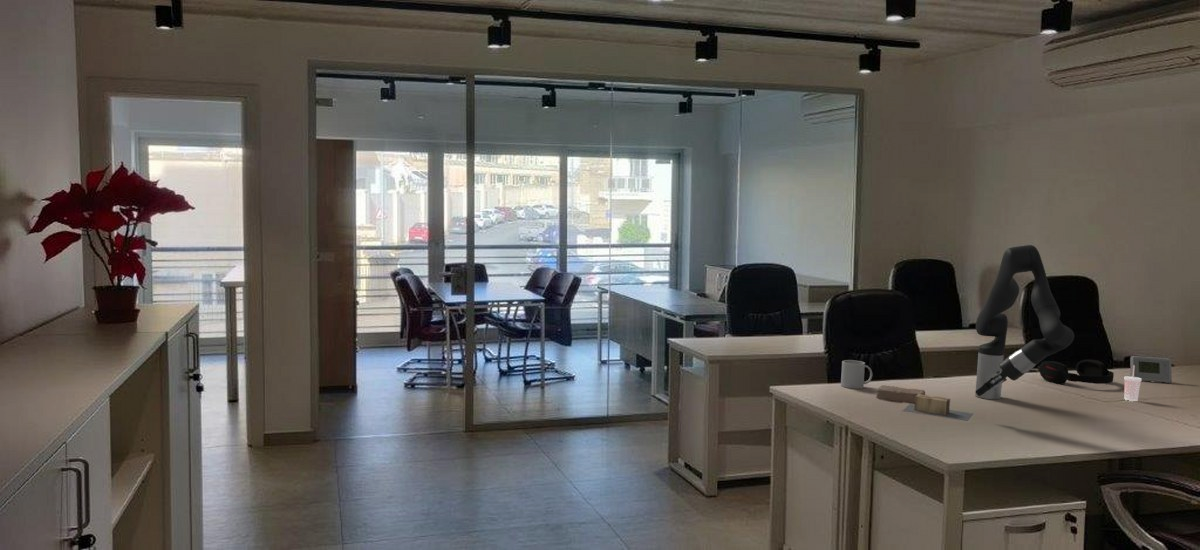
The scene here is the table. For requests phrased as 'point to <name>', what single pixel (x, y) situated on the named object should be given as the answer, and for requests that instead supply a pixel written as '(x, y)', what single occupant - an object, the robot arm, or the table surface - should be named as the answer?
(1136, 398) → the beverage cup
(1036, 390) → the table surface
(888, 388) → the brick
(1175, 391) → the table surface
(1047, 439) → the table surface
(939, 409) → the oak block
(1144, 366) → the digital clock
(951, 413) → the mat
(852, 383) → the mug
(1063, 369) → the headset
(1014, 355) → the robot arm
